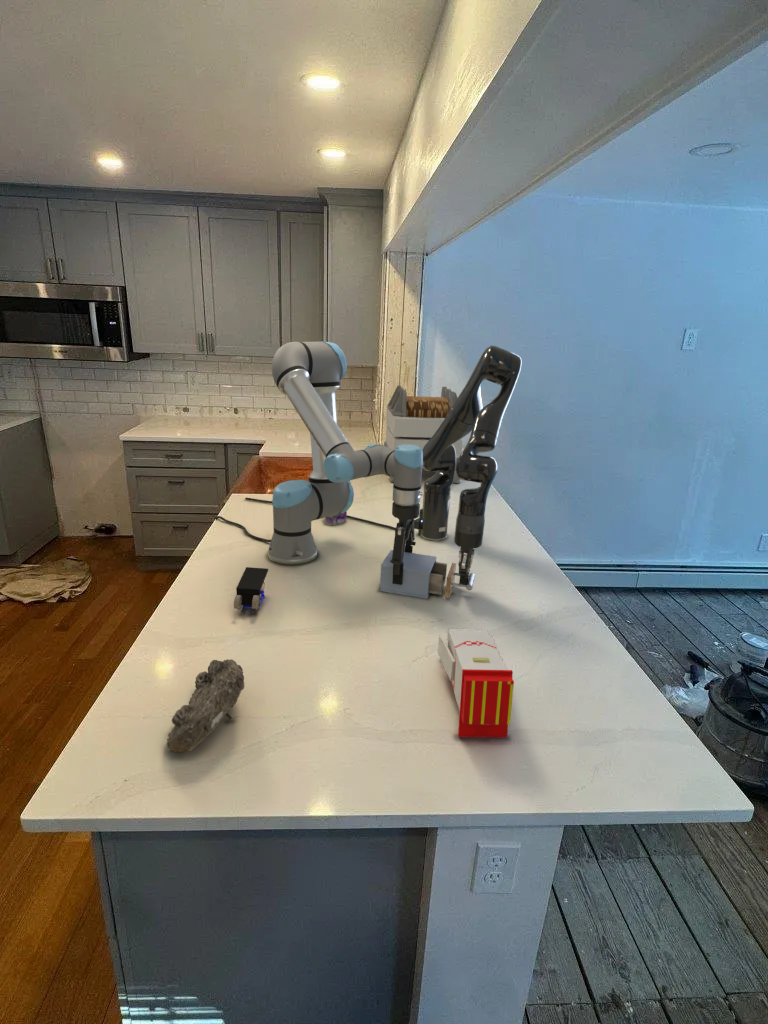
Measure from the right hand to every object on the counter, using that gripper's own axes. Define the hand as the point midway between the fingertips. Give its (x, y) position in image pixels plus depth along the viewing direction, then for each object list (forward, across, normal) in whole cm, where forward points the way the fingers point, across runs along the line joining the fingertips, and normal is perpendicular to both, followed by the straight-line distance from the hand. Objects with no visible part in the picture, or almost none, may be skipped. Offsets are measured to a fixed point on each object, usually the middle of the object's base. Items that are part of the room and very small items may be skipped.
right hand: (463, 585), depth 158 cm
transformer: (+4, +118, +37) cm, 124 cm away
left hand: (0, 0, +18) cm, 18 cm away
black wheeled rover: (+4, -24, +52) cm, 58 cm away
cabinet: (+3, 0, +16) cm, 16 cm away
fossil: (+3, -66, +39) cm, 76 cm away
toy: (+3, -42, -7) cm, 43 cm away
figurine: (+4, +41, +53) cm, 67 cm away
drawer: (+2, 0, +6) cm, 7 cm away
